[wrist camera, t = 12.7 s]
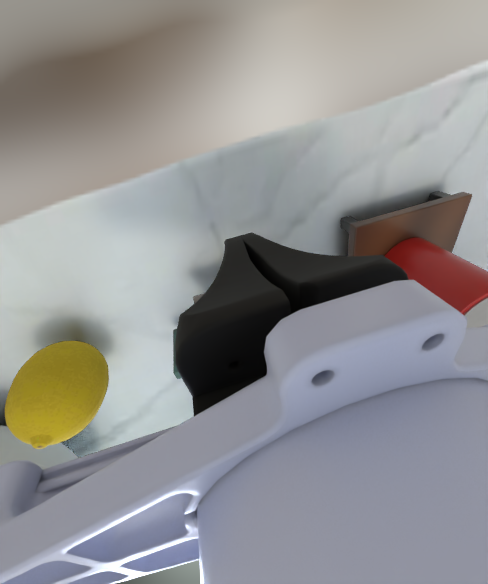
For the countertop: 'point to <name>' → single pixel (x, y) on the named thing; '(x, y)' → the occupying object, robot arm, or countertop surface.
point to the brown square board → (409, 225)
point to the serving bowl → (31, 451)
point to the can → (445, 277)
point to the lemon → (56, 393)
